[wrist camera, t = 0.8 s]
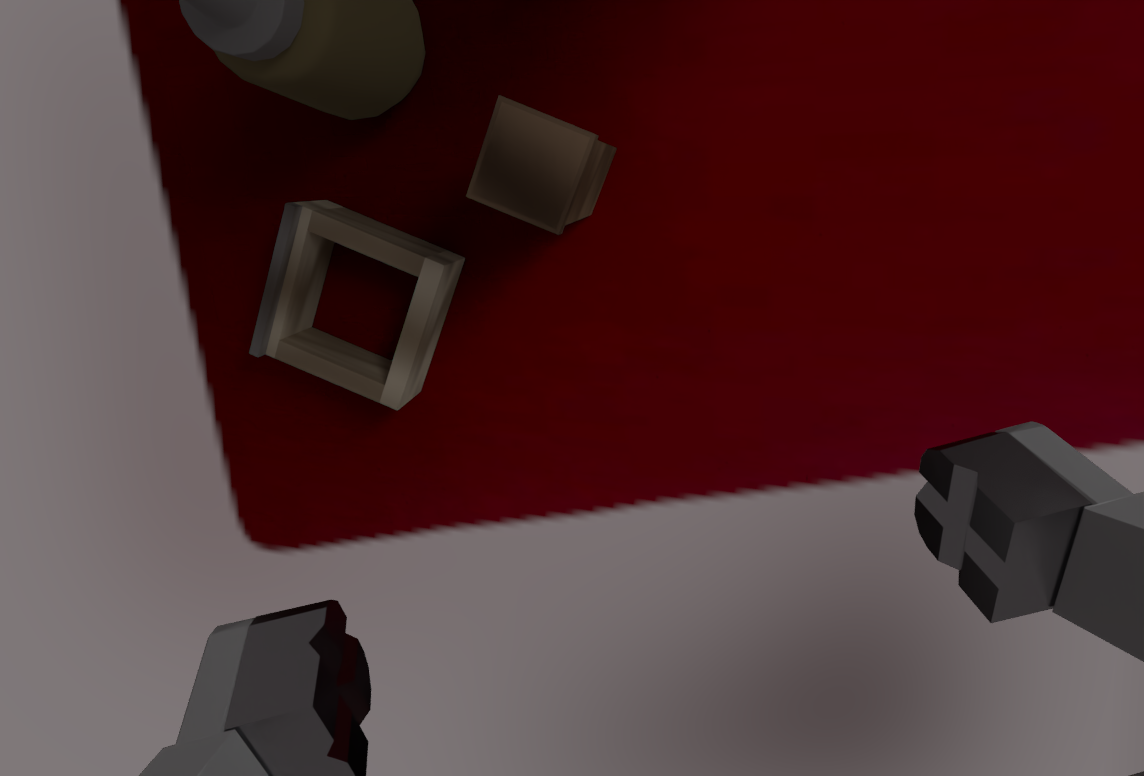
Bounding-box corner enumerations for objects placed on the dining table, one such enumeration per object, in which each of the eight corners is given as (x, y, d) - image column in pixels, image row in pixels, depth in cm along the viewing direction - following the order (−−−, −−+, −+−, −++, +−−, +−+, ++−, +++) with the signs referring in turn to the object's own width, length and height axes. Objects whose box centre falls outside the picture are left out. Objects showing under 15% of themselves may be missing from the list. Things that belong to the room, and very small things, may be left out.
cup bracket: (326, 199, 45) (285, 202, 40) (465, 257, 45) (440, 267, 40) (290, 336, 48) (248, 353, 43) (420, 391, 48) (392, 414, 43)
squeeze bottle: (313, 118, 44) (73, 83, 26) (310, -32, 41) (44, -178, 24) (442, 129, 43) (279, 100, 26) (447, -24, 40) (271, -170, 23)
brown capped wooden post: (550, 117, 41) (499, 94, 30) (621, 146, 41) (596, 134, 30) (524, 191, 43) (465, 196, 31) (592, 219, 43) (558, 235, 31)
